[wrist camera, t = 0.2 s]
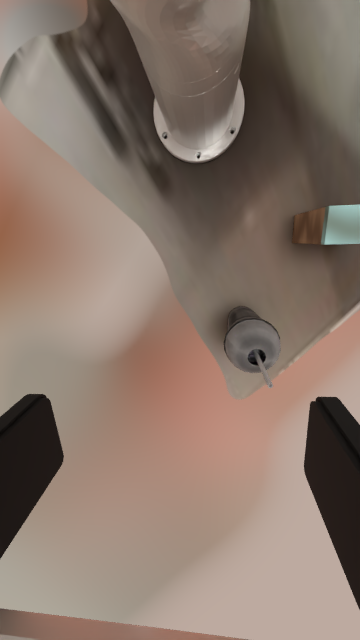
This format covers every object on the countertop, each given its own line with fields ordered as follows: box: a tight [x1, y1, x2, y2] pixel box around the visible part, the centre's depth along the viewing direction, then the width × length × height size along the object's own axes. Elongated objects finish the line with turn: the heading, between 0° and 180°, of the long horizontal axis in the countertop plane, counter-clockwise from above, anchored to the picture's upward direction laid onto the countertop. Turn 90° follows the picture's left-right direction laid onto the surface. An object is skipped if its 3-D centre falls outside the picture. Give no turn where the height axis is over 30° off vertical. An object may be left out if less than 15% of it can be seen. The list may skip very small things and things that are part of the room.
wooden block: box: [292, 205, 360, 245], centre depth 34 cm, size 4×7×12 cm, turn 91°
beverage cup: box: [224, 306, 281, 388], centre depth 35 cm, size 7×7×20 cm
